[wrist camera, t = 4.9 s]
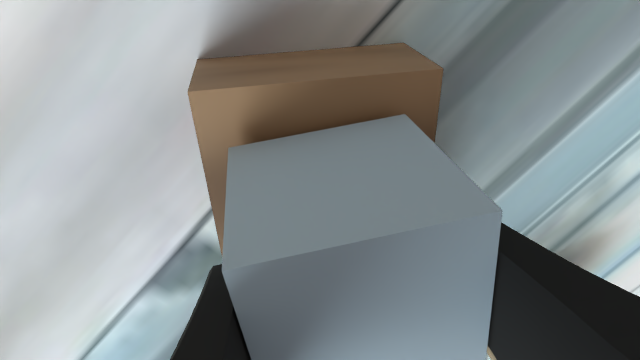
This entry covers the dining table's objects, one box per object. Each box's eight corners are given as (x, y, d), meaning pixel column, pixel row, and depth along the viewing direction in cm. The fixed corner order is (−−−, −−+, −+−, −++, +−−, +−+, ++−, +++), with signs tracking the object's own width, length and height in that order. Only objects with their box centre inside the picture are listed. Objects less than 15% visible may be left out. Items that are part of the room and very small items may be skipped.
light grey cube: (409, 250, 14) (483, 382, 10) (264, 282, 14) (276, 434, 9) (405, 113, 12) (502, 210, 7) (228, 147, 11) (221, 270, 7)
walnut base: (390, 204, 18) (420, 257, 15) (229, 225, 17) (228, 286, 14) (401, 41, 15) (443, 68, 12) (198, 57, 14) (187, 91, 11)
